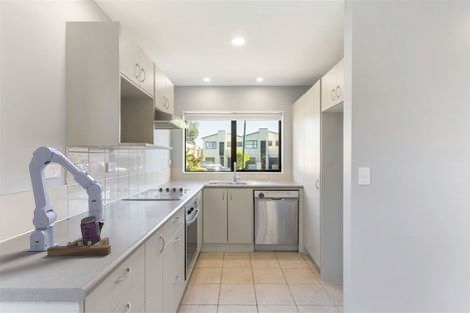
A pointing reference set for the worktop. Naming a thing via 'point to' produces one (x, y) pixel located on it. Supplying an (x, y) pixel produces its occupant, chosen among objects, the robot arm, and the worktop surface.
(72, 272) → the worktop surface
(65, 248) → the pin nest
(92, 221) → the beverage can
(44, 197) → the robot arm
